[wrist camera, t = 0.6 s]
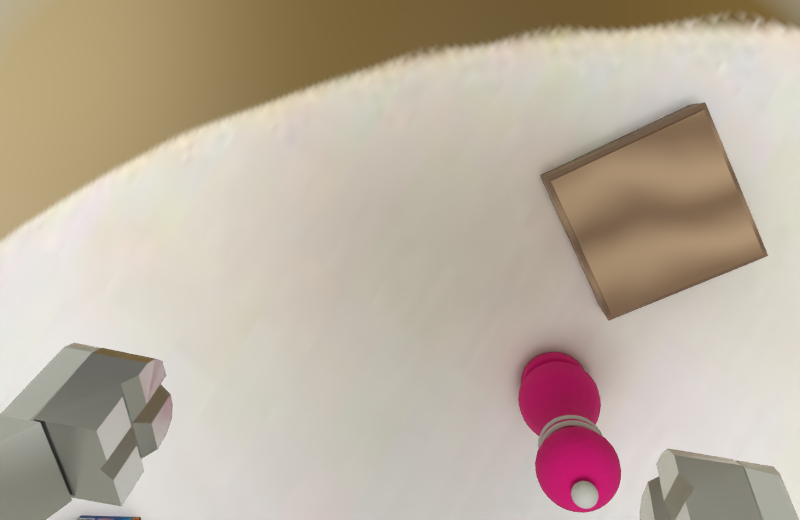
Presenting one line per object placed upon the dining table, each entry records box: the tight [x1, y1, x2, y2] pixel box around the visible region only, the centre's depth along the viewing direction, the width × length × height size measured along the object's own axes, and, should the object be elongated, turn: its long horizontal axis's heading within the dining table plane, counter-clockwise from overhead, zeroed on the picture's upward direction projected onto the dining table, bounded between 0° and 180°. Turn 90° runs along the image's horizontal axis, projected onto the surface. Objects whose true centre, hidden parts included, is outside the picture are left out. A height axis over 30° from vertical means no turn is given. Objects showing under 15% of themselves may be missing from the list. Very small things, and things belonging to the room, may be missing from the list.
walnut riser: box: [541, 103, 768, 320], centre depth 53 cm, size 14×14×4 cm
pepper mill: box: [519, 352, 621, 512], centre depth 50 cm, size 7×7×20 cm
